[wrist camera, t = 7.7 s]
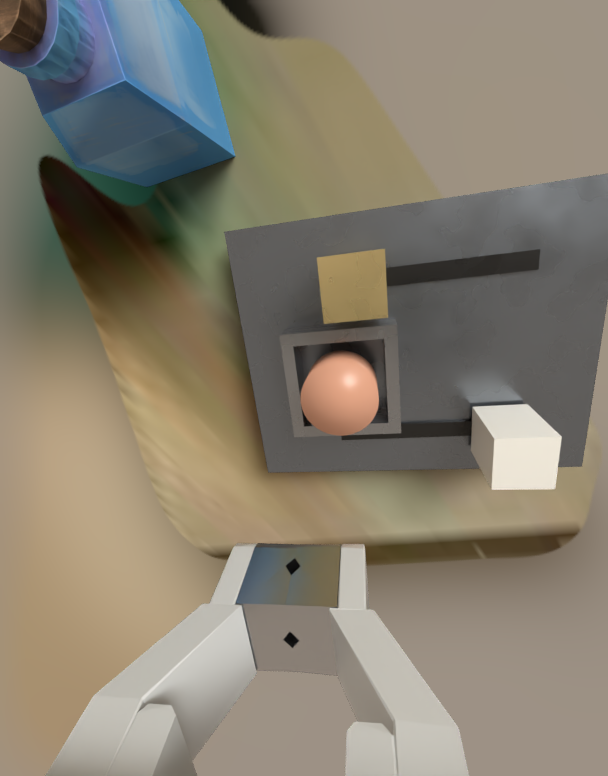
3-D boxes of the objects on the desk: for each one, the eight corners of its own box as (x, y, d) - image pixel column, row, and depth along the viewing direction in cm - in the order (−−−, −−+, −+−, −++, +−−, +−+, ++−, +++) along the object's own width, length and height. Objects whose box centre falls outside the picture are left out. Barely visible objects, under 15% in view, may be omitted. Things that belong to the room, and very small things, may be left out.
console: (590, 181, 20) (659, 160, 15) (557, 442, 25) (601, 486, 20) (240, 234, 23) (210, 230, 19) (277, 451, 29) (260, 489, 24)
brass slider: (381, 248, 19) (384, 248, 16) (383, 305, 20) (388, 317, 17) (325, 256, 20) (316, 257, 16) (330, 310, 21) (323, 324, 17)
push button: (375, 347, 20) (376, 360, 18) (379, 414, 21) (380, 434, 19) (303, 353, 21) (295, 366, 18) (311, 417, 22) (305, 437, 20)
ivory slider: (527, 403, 21) (561, 436, 17) (523, 449, 22) (554, 489, 18) (472, 406, 22) (494, 438, 18) (471, 450, 23) (491, 489, 19)
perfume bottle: (147, 187, 23) (-49, 131, 12) (108, 73, 21) (-166, -115, 10) (235, 156, 22) (103, 62, 11) (201, 30, 20) (-1, -239, 9)
